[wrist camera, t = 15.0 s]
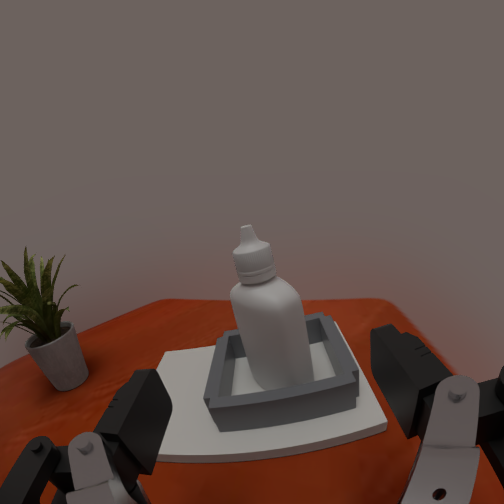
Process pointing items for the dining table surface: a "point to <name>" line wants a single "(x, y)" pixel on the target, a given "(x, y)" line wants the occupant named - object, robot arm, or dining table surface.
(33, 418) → the dining table surface
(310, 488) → the dining table surface
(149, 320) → the dining table surface
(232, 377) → the bottle holder
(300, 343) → the eye dropper bottle
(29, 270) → the house plant
